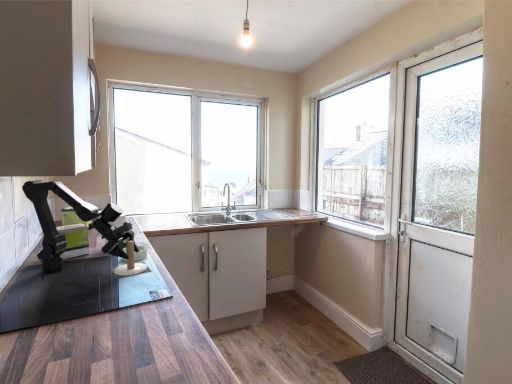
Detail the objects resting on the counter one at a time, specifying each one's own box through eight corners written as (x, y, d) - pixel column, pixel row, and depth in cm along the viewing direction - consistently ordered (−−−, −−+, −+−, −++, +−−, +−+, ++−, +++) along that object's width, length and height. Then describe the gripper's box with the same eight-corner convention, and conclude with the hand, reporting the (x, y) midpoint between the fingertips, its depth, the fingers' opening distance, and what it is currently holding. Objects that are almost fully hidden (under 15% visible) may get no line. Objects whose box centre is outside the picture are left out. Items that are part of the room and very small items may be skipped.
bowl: (124, 263, 132) (124, 253, 132) (120, 257, 141) (120, 248, 141) (149, 258, 138) (149, 249, 138) (144, 253, 148) (143, 244, 147)
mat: (115, 280, 113) (115, 279, 113) (110, 269, 125) (110, 268, 125) (152, 272, 121) (152, 271, 121) (144, 263, 133) (144, 262, 133)
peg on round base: (116, 278, 114) (115, 247, 113) (112, 268, 125) (110, 240, 124) (150, 271, 121) (149, 242, 120) (143, 262, 132) (142, 236, 131)
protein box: (87, 230, 198) (86, 208, 196) (62, 231, 194) (60, 209, 193) (92, 227, 208) (91, 206, 206) (68, 228, 204) (66, 206, 203)
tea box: (84, 250, 153) (82, 222, 152) (89, 254, 146) (88, 225, 144) (50, 256, 143) (48, 227, 141) (54, 261, 135) (52, 230, 134)
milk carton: (106, 247, 157) (104, 211, 155) (122, 244, 164) (121, 209, 162) (112, 251, 151) (110, 213, 149) (129, 247, 158) (127, 211, 156)
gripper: (107, 220, 112) (136, 248, 112) (129, 212, 130) (154, 236, 131) (88, 240, 112) (117, 268, 113) (113, 229, 131) (138, 253, 132)
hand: (133, 255), depth 122 cm, fingers open, 9 cm apart
